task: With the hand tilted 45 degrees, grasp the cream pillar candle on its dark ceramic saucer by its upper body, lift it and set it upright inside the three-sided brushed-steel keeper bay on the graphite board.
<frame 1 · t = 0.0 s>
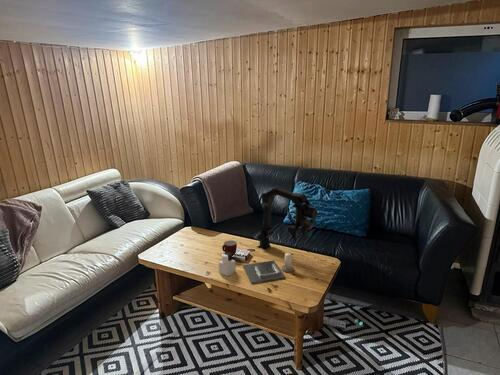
hand: (299, 238, 201), 15 cm above the table, tool pointing down, fingers open, 9 cm apart
candle: (287, 269, 194), on the table
medicine bottle: (227, 272, 192), on the table
keeper board: (267, 272, 191), on the table
mug: (229, 257, 211), on the table
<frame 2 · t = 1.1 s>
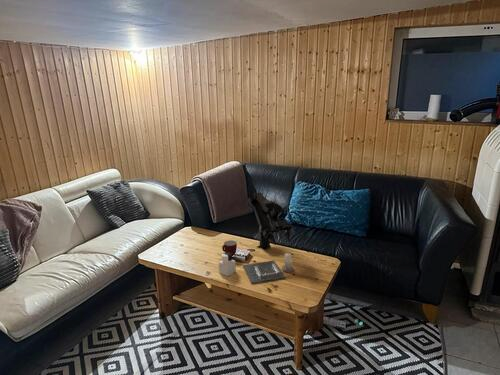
hand: (282, 243, 197), 14 cm above the table, tool tilted 45°, fingers open, 9 cm apart
nothing on the table moved.
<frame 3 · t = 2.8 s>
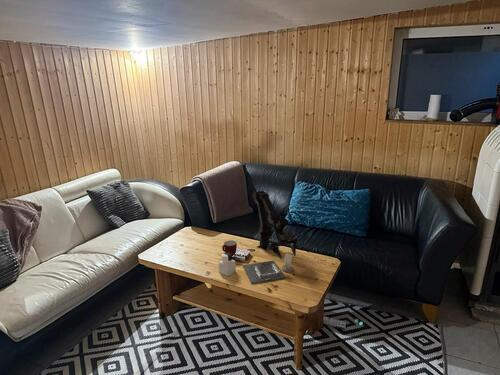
hand: (288, 257, 192), 8 cm above the table, tool tilted 45°, fingers open, 9 cm apart
nothing on the table moved.
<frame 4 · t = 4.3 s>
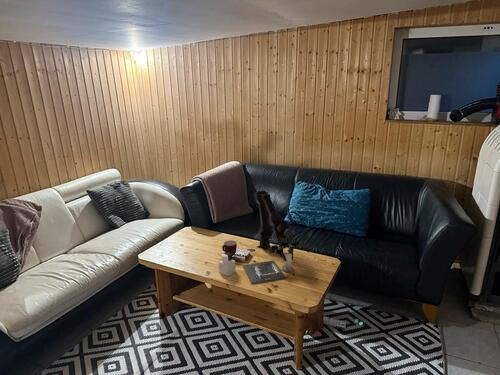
hand: (289, 260, 191), 7 cm above the table, tool tilted 45°, fingers closed on candle, 4 cm apart
candle: (287, 269, 194), on the table, touching gripper
everything else where it was.
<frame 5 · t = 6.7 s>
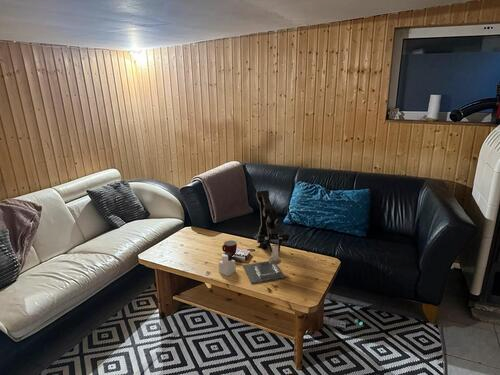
hand: (275, 252, 187), 13 cm above the table, tool tilted 45°, fingers closed on candle, 4 cm apart
candle: (274, 261, 190), point 7 cm above the table, touching gripper
everything else where it was.
when the fingers open (8 cm above the table, at t = 9.0 s): candle stays where it is, resting on keeper board.
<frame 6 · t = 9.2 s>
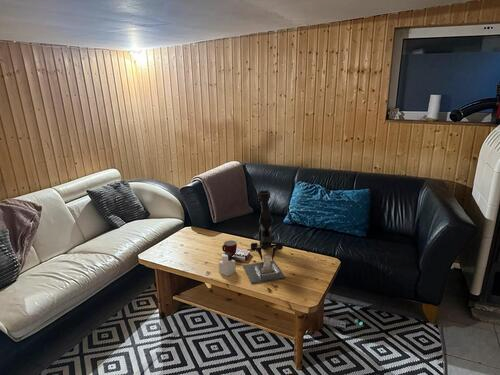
hand: (267, 260, 188), 9 cm above the table, tool tilted 45°, fingers open, 6 cm apart
candle: (267, 271, 191), point 1 cm above the table, touching keeper board
everything else where it was.
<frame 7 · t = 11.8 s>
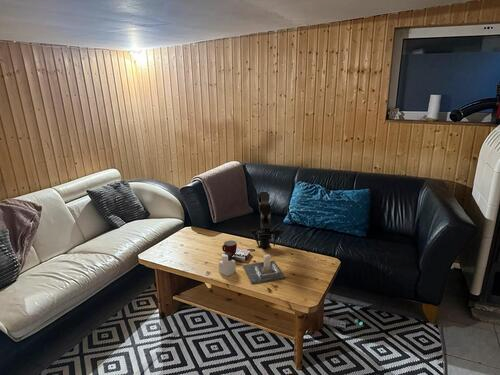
hand: (266, 246, 194), 13 cm above the table, tool tilted 45°, fingers open, 9 cm apart
nothing on the table moved.
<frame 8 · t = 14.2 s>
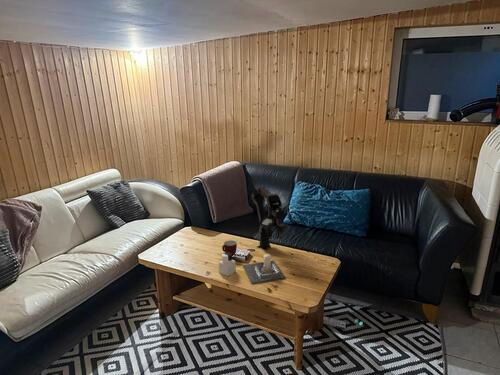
hand: (272, 236, 208), 13 cm above the table, tool pointing down, fingers open, 9 cm apart
nothing on the table moved.
at the end: candle 0.1 cm from the target spot, point 1.0 cm above the table; candle tilted 0°; the gripper is holding nothing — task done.
